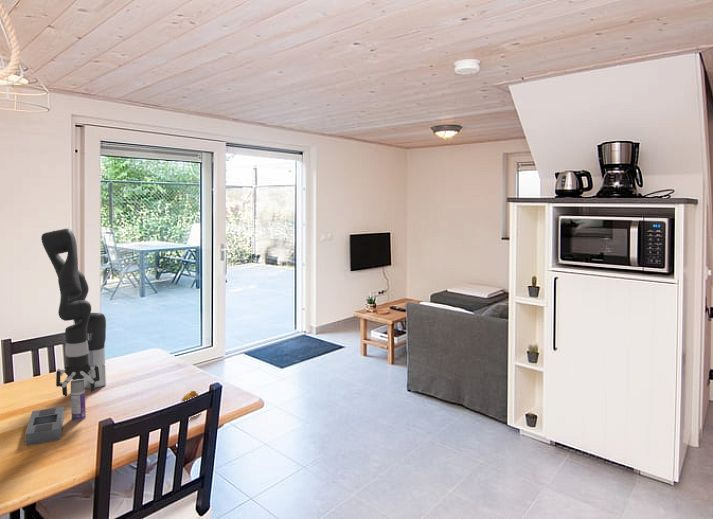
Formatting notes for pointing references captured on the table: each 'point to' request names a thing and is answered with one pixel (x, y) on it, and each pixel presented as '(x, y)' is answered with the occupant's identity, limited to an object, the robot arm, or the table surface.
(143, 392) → the table surface
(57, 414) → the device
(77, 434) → the table surface
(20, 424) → the table surface
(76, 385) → the container
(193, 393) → the fruit
